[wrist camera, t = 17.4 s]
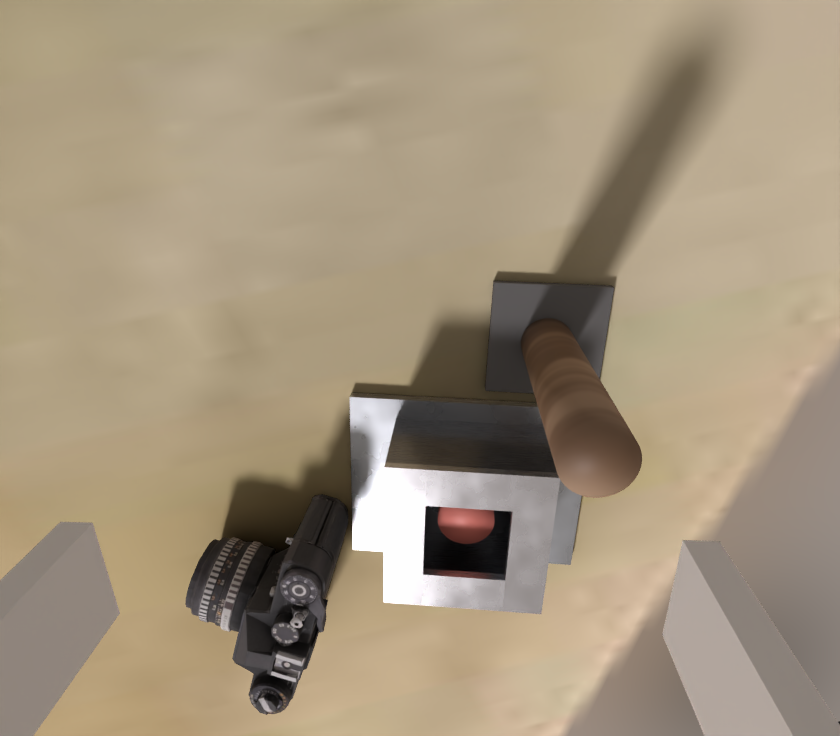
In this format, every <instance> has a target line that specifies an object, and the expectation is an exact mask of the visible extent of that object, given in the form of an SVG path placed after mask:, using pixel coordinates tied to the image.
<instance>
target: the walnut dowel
mask: <svg viewBox="0 0 840 736" xmlns="http://www.w3.org/2000/svg"><path fill="white" fill-rule="evenodd" d="M521 350H522V353H523V357H524V360H525V364H526V367H527V371H528V374H529V378H530V381H531V384H532V388H533V391H534V395H535V398H536V402H537V405H538V409H539V412H540V416H541V419H542V422H543V426H544V429H545V433H546V436H547V440H548V443H549V447H550V450H551V453H552V457H553V460H554V464H555V467H556V471H557V474H558V476H559V478H560V480H561V482H562V483H563V484H564V485H565V486H566V487H567V488H568V489H569V490H571V491H572V492H574V493H576V494H579V495H582V496H585V497H592V498H599V497H606V496H610V495H613V494H616V493H618V492H620V491H622V490H624V489H625V488H626V487H628V486H629V485H630V484H631V483H632V482H633V481H634V479H635V478H636V476H637V475H638V473H639V471H640V468H641V464H642V454H641V449H640V447H639V445H638V443H637V441H636V439H635V438H634V436H633V434H632V433H631V431H630V429H629V428H628V426H627V424H626V423H625V421H624V419H623V418H622V416H621V414H620V413H619V411H618V409H617V408H616V406H615V404H614V403H613V401H612V399H611V398H610V396H609V394H608V393H607V391H606V389H605V388H604V386H603V384H602V383H601V381H600V379H599V378H598V376H597V374H596V373H595V371H594V369H593V368H592V366H591V364H590V363H589V361H588V359H587V358H586V356H585V354H584V353H583V351H582V349H581V348H580V346H579V344H578V343H577V341H576V339H575V338H574V336H573V334H572V333H571V331H570V329H569V328H568V327H567V326H566V325H565V324H564V323H563V322H561V321H559V320H557V319H553V318H544V319H540V320H537V321H535V322H533V323H532V324H530V325H529V326H528V327H527V328H526V329H525V331H524V333H523V335H522V338H521Z"/></svg>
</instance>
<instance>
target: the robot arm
mask: <svg viewBox="0 0 840 736" xmlns="http://www.w3.org/2000/svg"><path fill="white" fill-rule="evenodd" d="M119 614H120V612H119V609H118V605H117V602H116V599H115V595H114V592H113V589H112V585H111V582H110V579H109V576H108V572H107V569H106V566H105V562H104V559H103V556H102V552H101V549H100V546H99V542H98V539H97V536H96V532H95V529H94V526H93V523H83V522H60V523H59V524H58V525H57V526H56V527H55V528H54V529H53V530H52V531H51V532H49V533H48V534H47V535H46V536H45V537H44V538H43V539H42V540H41V541H40V542H39V543H38V544H37V545H36V546H35V547H34V548H33V549H32V550H31V551H30V552H29V553H28V554H27V555H26V556H25V557H24V558H23V559H22V560H21V561H20V562H19V563H18V564H17V565H16V566H15V567H14V568H12V569H11V570H10V571H9V572H8V573H7V574H6V575H5V576H4V577H3V578H2V579H1V580H0V736H33V735H34V734H35V733H36V731H37V730H38V728H39V727H40V725H41V724H42V723H43V721H44V720H45V718H46V717H47V716H48V714H49V713H50V711H51V710H52V708H53V707H54V706H55V704H56V703H57V701H58V700H59V699H60V697H61V696H62V694H63V693H64V691H65V690H66V689H67V687H68V686H69V684H70V683H71V682H72V680H73V679H74V677H75V676H76V674H77V673H78V672H79V670H80V669H81V667H82V666H83V665H84V663H85V662H86V660H87V659H88V657H89V656H90V655H91V653H92V652H93V650H94V649H95V648H96V646H97V645H98V643H99V642H100V640H101V639H102V638H103V636H104V635H105V633H106V632H107V631H108V629H109V628H110V626H111V625H112V623H113V622H114V621H115V619H116V618H117V616H118V615H119ZM663 637H664V639H665V642H666V644H667V647H668V649H669V652H670V654H671V656H672V659H673V661H674V664H675V666H676V669H677V671H678V673H679V675H680V678H681V681H682V683H683V685H684V688H685V690H686V692H687V695H688V697H689V700H690V702H691V704H692V707H693V709H694V712H695V714H696V717H697V719H698V721H699V724H700V726H701V729H702V731H703V733H704V736H840V722H838V721H837V720H836V718H835V717H834V715H833V714H832V712H831V711H830V709H829V708H828V706H827V705H826V703H825V701H824V700H823V698H822V697H821V696H820V694H819V692H818V691H817V689H816V688H815V686H814V685H813V683H812V682H811V680H810V679H809V677H808V675H807V674H806V673H805V671H804V669H803V668H802V666H801V665H800V663H799V662H798V660H797V659H796V657H795V656H794V654H793V653H792V651H791V650H790V648H789V647H788V645H787V643H786V642H785V640H784V639H783V637H782V636H781V634H780V633H779V631H778V630H777V628H776V627H775V625H774V623H773V622H772V620H771V619H770V617H769V616H768V614H767V613H766V612H765V610H764V608H763V607H762V605H761V604H760V602H759V601H758V599H757V598H756V596H755V594H754V593H753V591H752V590H751V588H750V587H749V585H748V584H747V582H746V581H745V579H744V578H743V577H742V575H741V573H740V571H739V570H738V569H737V567H736V565H735V564H734V562H733V561H732V559H731V558H730V556H729V555H728V553H727V552H726V550H725V549H724V547H723V546H722V544H721V543H720V541H691V540H683V542H682V547H681V551H680V556H679V561H678V565H677V570H676V574H675V579H674V584H673V588H672V593H671V597H670V602H669V607H668V611H667V616H666V621H665V625H664V630H663Z"/></svg>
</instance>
